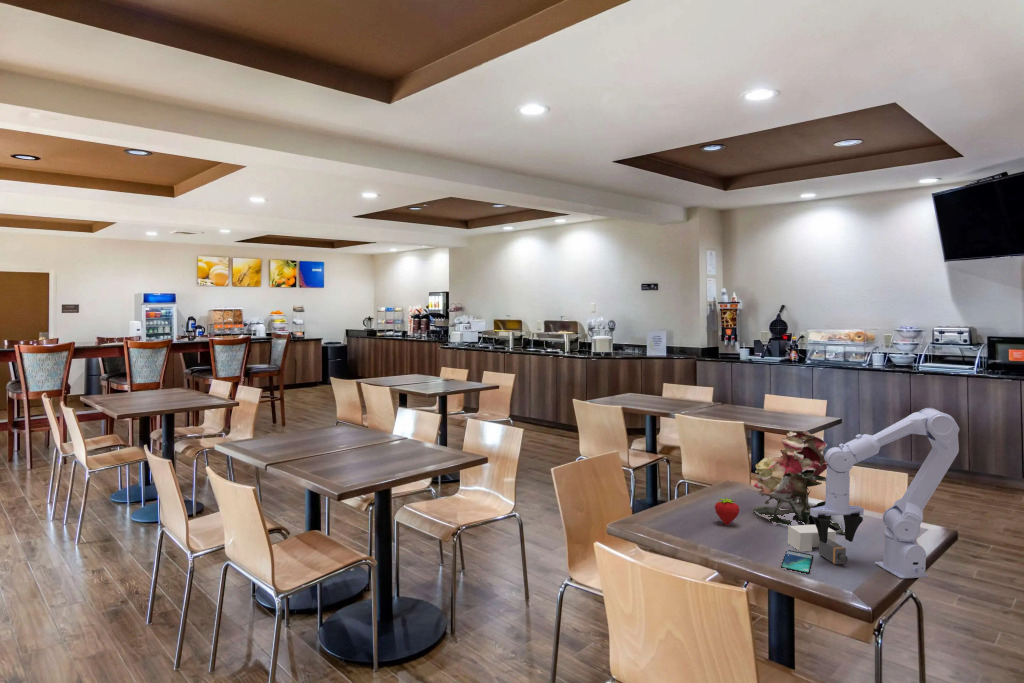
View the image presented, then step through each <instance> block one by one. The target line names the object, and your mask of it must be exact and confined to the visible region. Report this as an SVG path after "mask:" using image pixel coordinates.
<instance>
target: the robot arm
mask: <svg viewBox="0 0 1024 683" xmlns="http://www.w3.org/2000/svg"><path fill="white" fill-rule="evenodd" d="M959 432H960V427H959V426H958V424H957V422H956V420H955V418H954V417H953V416H951V415H950V414H948V413H945V412H942V411H939V410H938V409H936V408H933V407H926V408H923V409H921V410H919V411H916V412H913V413H911V414H909V415H908V416H906V417H904V418H902V419H901V420H899V421H897V422H895V423H893V424H891V425H890V426H887V427H886V428H884V429H882V430H881V431H879V432H877V433H875V434H873V435H871V434H867V433H864V434H861V433H858V434H856V435H855V438H854V439H851V440H849V441H847V442H845V443H844V444H843V443H840V444H839V445H838V446H839V447H835V446H834V447H830V448H829V449H828V450H827V451H826V453H825V454H824V459H825V461H826V463H827V464H828V465H827V469H826V474H825V477H826V482H825V500H824V501H825V506H820V507H816V508H810V515H811V517H812V518H811V519H813V520H812V521H813V523H814V525H816V528H817V531H818V534H819V539H820V541H821V542H823V543H827V537H828V528H830V522H831V521H830V520H828V519H827V517H826V516H831V517H833V516H842V517H843V523H844V529H845V534H844V539H845V540H846V541H848V542H851V543H853V540H854V538H855V534H856V532H857V530H858V528H859V527H860V525H861V523H863V521H864V519H863V515H864V513H865V510H864V509H865V508H864V507H862V506H859V505H850V488H851V487H850V485H851V484H850V483H851V482H850V481H851V478H850V471H851V470H852V468H853V467H854V465H855V464H858V463H860V462H863V461H864V460H867V459H869V458H870V457H873V456H875V455H877V454H879V451H880V449H881V447H883V446H884V445H887V444H890V443H892V442H895V441H897V440H901V439H902V438H904V437H906V436H909V435H912V434H913V435H922V436H927V439H928V441H929V442H930V444H931V445H930V446H931V450H930V451H929V453H928V454H927V456H926V458H925V459H924V461H923V462H922V464H921V466H920V468H919V470H918V471H917V472H916V474H915V476H914V478H913V479H912V481H911V483H910V484H909V485H908V487H907V489H906V491H905V493H904V494H903V496H902V497H901V498H899V499H897V500H896V501H895V502H894V503H893V505H892V506H890V507H889V508H887V509H886V510H884V512H883V514H882V521H883V523H884V525H885V526H886V529H885V530H884V535H883V536H884V539H883V541H884V542H883V561H875V562H874V563H875V564H876V565H877V566H879V567H880V568H882V569H884V570H885V571H887V572H889V573H891V574H892V575H894V576H896V577H898V578H899V579H915V578H917V579H918V578H928V577H929V575H928V574H926V564H927V562H926V561H927V552H926V550H925V548H923V546H922V545H920V544H919V542H918V540H917V538H918V537H919V535H920V533H921V532H920V531H921V524H922V522H923V520H924V509H925V507H926V506H927V504H928V503H929V501H930V500H931V497H932V496H933V494H934V493H935V492H936V490H937V488H938V486H939V485H940V483H941V482H942V480H943V479H944V477H945V475H946V474H947V472H948V471H949V469H950V467H951V465H952V464H953V462H955V459H956V457H957V455H959V451H960V447H959V446H960V444H959Z"/></svg>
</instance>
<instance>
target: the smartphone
mask: <svg viewBox="0 0 1024 683" xmlns="http://www.w3.org/2000/svg"><path fill="white" fill-rule="evenodd" d="M787 550H788V551H785V553H786V554H785V553H784V555H785V556H783V558H784V559H783V558H782V561H783V562H781V564H782V565H780V567H781V568H786V569H787V570H792V571H797V572H801V573H806V574H809V575H810V574H811V570H810V569H812V566H811V565H812V564H813V561H814V557H813V556H814V554H810V553H808V552H799V551H797V550H792V549H787ZM787 552H789V553H790V554H789V553H787ZM788 555H789V556H788Z"/></svg>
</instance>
